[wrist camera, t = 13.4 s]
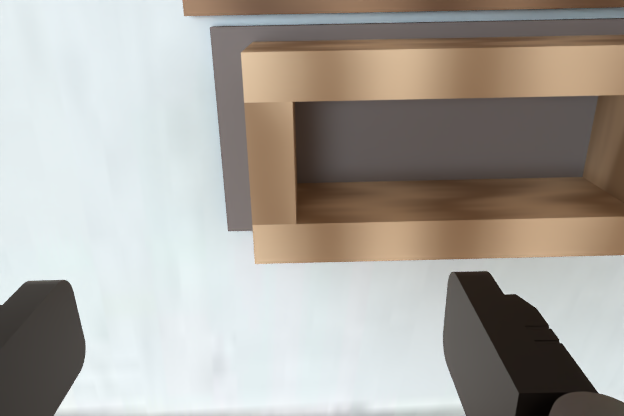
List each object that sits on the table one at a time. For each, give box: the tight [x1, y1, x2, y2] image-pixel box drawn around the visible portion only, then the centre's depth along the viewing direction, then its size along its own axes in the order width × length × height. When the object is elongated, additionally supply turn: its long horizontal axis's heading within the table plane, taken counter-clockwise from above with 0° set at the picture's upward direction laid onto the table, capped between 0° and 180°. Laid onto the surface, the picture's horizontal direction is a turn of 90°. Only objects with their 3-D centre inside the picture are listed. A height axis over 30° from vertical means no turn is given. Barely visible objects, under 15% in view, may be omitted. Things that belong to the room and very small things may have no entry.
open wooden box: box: [241, 35, 624, 264], centre depth 22 cm, size 18×9×5 cm, turn 91°
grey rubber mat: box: [210, 18, 624, 231], centre depth 25 cm, size 22×10×1 cm, turn 91°
